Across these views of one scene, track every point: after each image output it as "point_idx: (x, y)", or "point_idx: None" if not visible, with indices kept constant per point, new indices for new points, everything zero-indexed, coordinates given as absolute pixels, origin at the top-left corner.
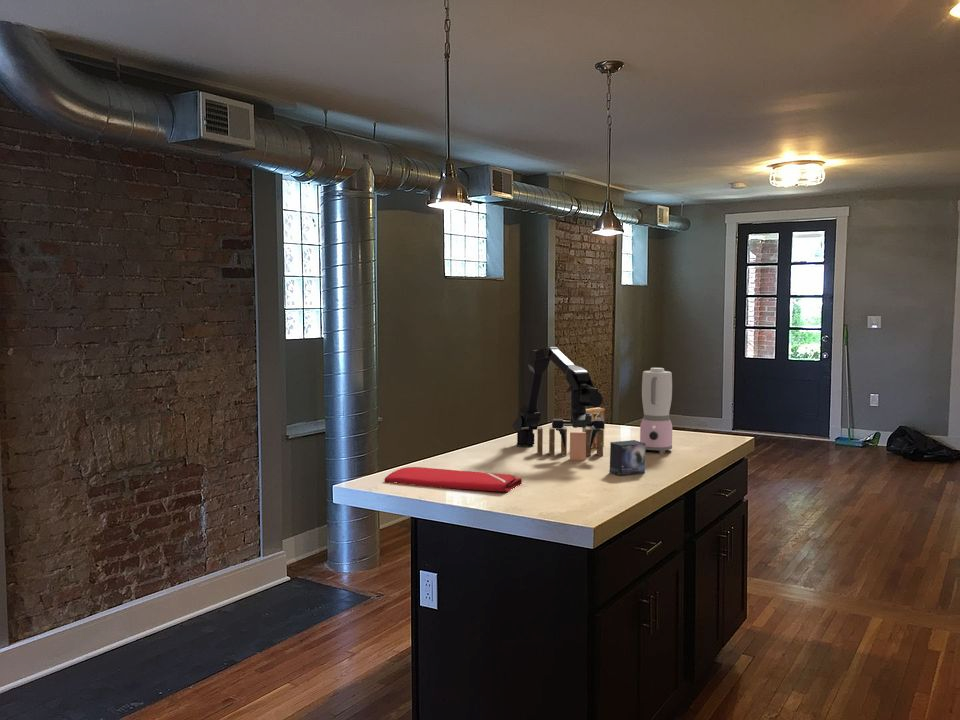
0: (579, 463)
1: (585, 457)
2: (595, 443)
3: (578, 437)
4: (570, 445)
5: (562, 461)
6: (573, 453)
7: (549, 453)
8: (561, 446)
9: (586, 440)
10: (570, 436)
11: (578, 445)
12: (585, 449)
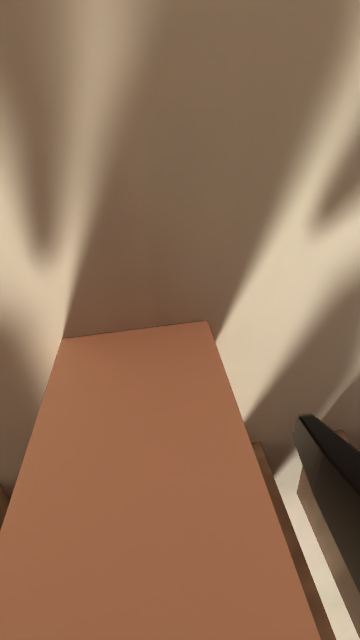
0: (99, 158)
1: (57, 355)
2: None
3: (129, 600)
4: (243, 434)
5: (286, 243)
6: (185, 364)
7: None
8: None
9: None
10: (302, 594)
11: (129, 451)
12: (38, 420)
